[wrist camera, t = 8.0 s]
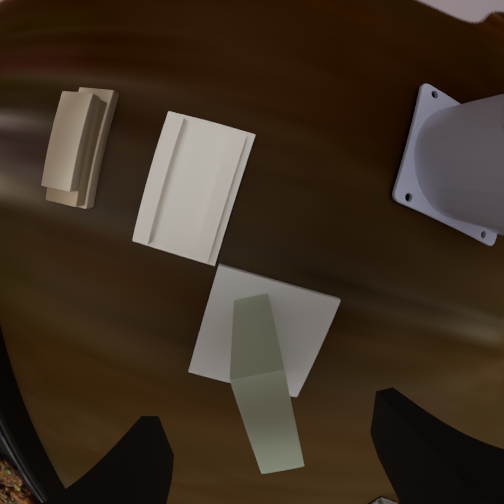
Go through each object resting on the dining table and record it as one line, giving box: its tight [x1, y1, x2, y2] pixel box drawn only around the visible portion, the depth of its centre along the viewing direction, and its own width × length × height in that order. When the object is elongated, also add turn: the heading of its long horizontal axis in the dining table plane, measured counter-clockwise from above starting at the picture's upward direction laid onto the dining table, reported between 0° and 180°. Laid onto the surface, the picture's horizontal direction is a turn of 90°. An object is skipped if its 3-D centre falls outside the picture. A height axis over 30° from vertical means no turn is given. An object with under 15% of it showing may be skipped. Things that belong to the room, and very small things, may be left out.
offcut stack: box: [41, 87, 119, 209], centre depth 16 cm, size 2×7×3 cm, turn 166°
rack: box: [132, 111, 255, 266], centre depth 17 cm, size 5×8×2 cm, turn 163°
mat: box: [188, 263, 341, 397], centre depth 20 cm, size 8×8×1 cm
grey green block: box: [230, 293, 304, 474], centre depth 16 cm, size 2×6×8 cm, turn 12°
